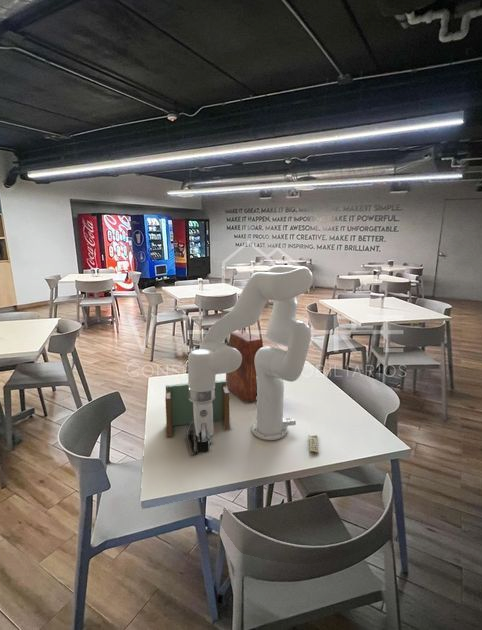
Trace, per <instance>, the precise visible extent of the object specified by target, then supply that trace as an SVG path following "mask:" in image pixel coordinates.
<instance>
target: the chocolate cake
mask: <svg viewBox="0 0 482 630" xmlns="http://www.w3.org/2000/svg"><path fill="white" fill-rule="evenodd" d="M185 437H186V443H187V445H188V449H189V451H190V455H191V456H193V455H194V454H196V453H197V438H198V436H197V435H196V430H195V424H194V423H193V419H192V422H191V424H189V426H188V427H187V432H186V436H185ZM211 440H212V438H211V435H209V433H208V450H210V445H211V444H212V441H211Z"/></svg>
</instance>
